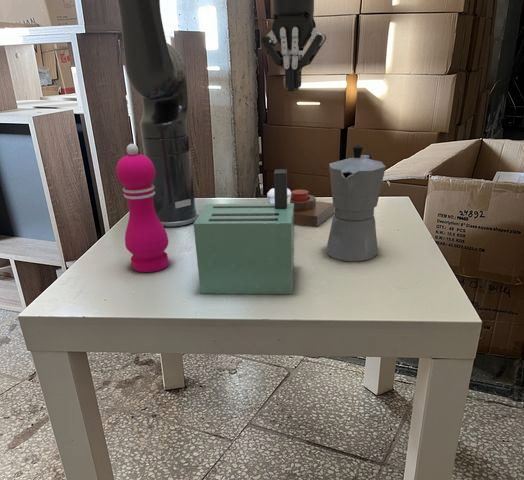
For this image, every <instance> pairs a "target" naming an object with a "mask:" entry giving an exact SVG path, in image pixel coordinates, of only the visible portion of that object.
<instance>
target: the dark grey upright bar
mask: <svg viewBox="0 0 524 480" xmlns="http://www.w3.org/2000/svg"><path fill="white" fill-rule="evenodd" d="M273 186H274V187H273V188H274V195H275V208H287V188H288V169H287V168H286V169H285V168H283V169H282V168H281V169H277V168H276V169H275V170H274V173H273Z"/></svg>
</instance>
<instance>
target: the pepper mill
mask: <svg viewBox="0 0 524 480" xmlns="http://www.w3.org/2000/svg"><path fill="white" fill-rule="evenodd" d="M126 153H127V154H126V155H124V156H123V157H121V158H120V159H119V160H118V162H117V164H116V167H115V168H116V169H115V171H116V177H117V179H118V181H119V182H120V183H121V184H122V185H123V186H124V187H122V192H123V197H124V199H126V200H127V203H128V210H129V213H128V214H129V215H128V222H127V225H126V229H125V233H124V242H125V245H124V246H125V248H126V249H127V251H128V252H129V253H130V254H131V255H132V256H131V257H130V261H131V268H132V269H133V270H134V271H135V272H139V273H154V272H158V271H162V270H164V269H166V268H167V267H168V266H169V263H170V262H169V255H168V253H167V252H166V249H167V248H168V246H169V241H170V240H169V237H168V233H167V231H166V228H165V226H163V225H162V224H161V222H160V221H159V219H158V217H157V215H156V212H155V209H154V204H153V195H154V194H155V191H154V185H152V181H153V180H154V178H155V167H154V165H153V163H152V161H151V160H150V159H149V158H148V157H146V156H144V154H140V153H139V147H138V146H137V144H134V143H129V144H128V145H127V146H126Z"/></svg>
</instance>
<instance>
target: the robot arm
mask: <svg viewBox="0 0 524 480" xmlns="http://www.w3.org/2000/svg"><path fill="white" fill-rule="evenodd" d="M116 2H117V7H118V11H119V18H120V26H121V27H120V28H121V36H122V37H121V38H122V46H123V55H124V57H123V58H124V66H125V71H126V76H127V78H128V82H129V83H130V85H131V87H132V88H133V90H134V91H135V92H136V93H137V94H138V95H139V96H141V98H142V106H143V108H142V116H141V119H140V123H139V129H140V135H141V143H142V151H143V155H144V156H146V157H148V158H149V159H150V160H151V161H152V163H153V165H154V167H155V178H154V180H153V181H152V185H154V191H155V194H154V195H153V204H154V209H155V212H156V215H157V217H158V219H159V221H160V222H161V224H162V225H163V227H180V226H186V225H190V224H192V223H193V224H194V222H195V220H196V219H197V217H198V214H197V207H196V206H197V205H196V198H195V197H196V196H195V195H196V194H195V186H194V185H195V184H194V177H193V168H192V167H193V166H192V158H191V149H190V148H191V147H190V138H189V127H188V125H189V117H190V110H189V108H190V107H189V94H188V92H189V91H188V79H187V71H186V66H185V62H184V59H183V57H182V55H181V53H180V52H179V51H178V49H177V48H176V47H174V46H173V45H172V44H170V43H168V42H167V38H166V32H165V29H164V23H163V19H162V11H161V0H116ZM314 13H315V0H272V14H273V21H272V23H271V27H270V28H271V29H270V31H269V32H268V33H267V34H266V35H263V36H262V37H261V40H260V41H261V43H262V44H263V46H264V47H265V49H266V51H267V52H268V54H269V56H270V57H271V59H272V60H273V62H274V63H275V65H276V66H278V67H281V68H283V69H284V86H285V88H286V89H287V91H288V92H298V91H299V89H300V88H301V86H302V70H303V68H304V67H306V66H309V65H311V63H312V62H313V61H314V59H315V57H316V56H317V55H318V54H319V51H320V50H321V48H322V47H323V46H324V43H325V42H326V41H327V36H326V34H324V33H321V32H320V31H319V30H318V29H317V26H316V25H317V24H316V21H315V19H314ZM309 41H310V45H309V46H308V48H307V50H306V46H307V44H308V42H309ZM277 43H278V44H279V45H280V47H281V49H280V48H279V46H278V44H277Z"/></svg>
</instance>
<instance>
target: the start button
mask: <svg viewBox="0 0 524 480" xmlns="http://www.w3.org/2000/svg"><path fill="white" fill-rule="evenodd" d="M308 195H310V194H309V191H308V190H306V189H294V190H291V200H293V201H305V200H308Z"/></svg>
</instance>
